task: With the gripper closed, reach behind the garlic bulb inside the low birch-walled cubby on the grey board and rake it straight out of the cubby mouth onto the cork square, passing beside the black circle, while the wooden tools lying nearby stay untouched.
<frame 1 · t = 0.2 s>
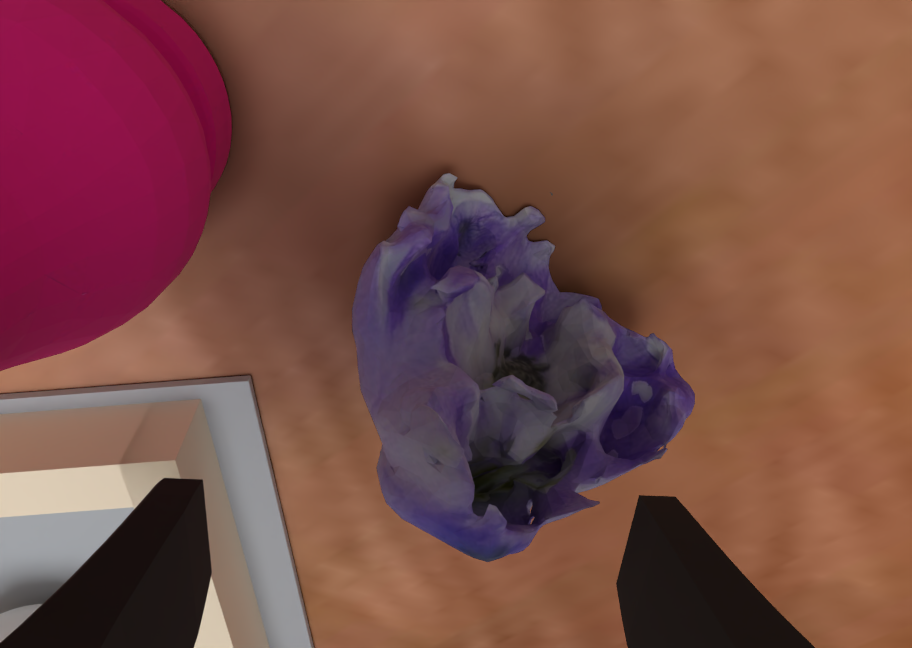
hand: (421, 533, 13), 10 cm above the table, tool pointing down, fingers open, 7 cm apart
cubby board: (76, 644, 28), on the table
flower: (481, 327, 23), on the table
garlic bulb: (66, 628, 28), resting on cubby board
pepper mill: (106, 106, 19), on the table, touching gripper
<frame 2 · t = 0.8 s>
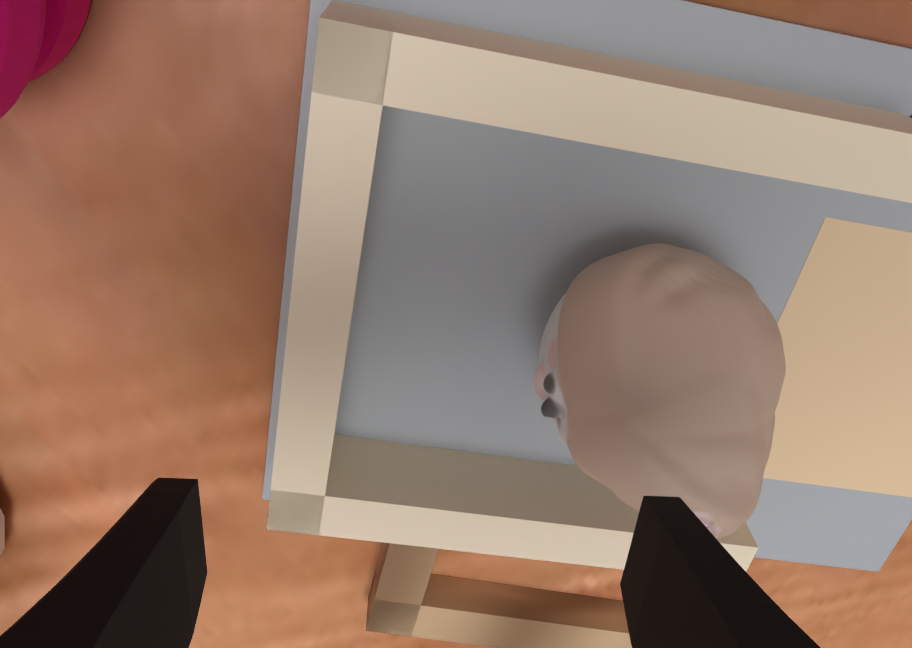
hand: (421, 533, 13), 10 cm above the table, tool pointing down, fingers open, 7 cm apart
crook tool: (532, 600, 29), on the table
cubby board: (662, 320, 23), on the table
garlic bulb: (631, 316, 23), resting on cubby board
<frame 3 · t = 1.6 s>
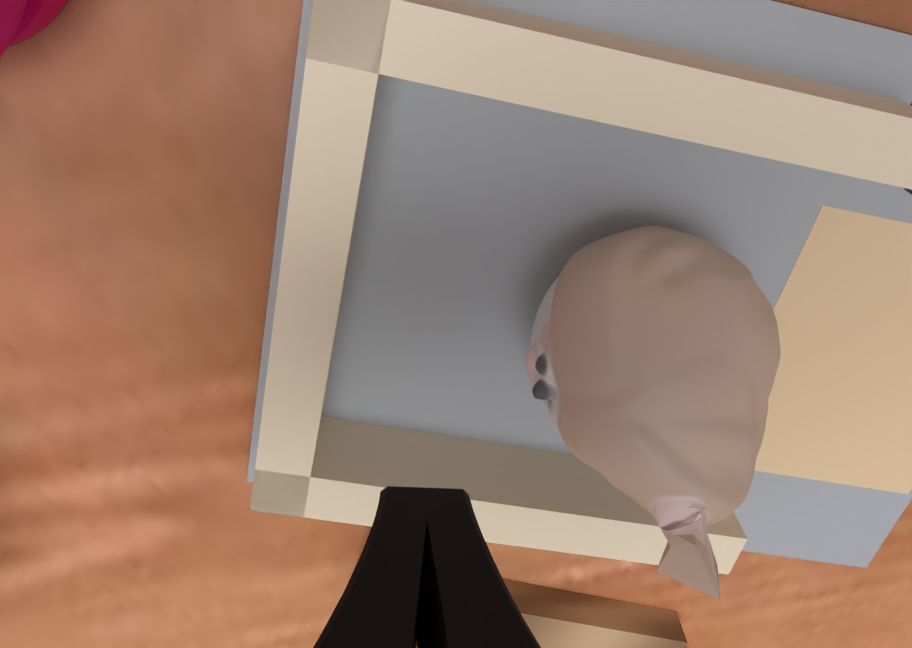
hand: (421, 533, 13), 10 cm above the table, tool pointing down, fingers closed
crook tool: (518, 593, 29), on the table, touching cubby board
cubby board: (656, 307, 23), on the table
garlic bulb: (624, 302, 23), resting on cubby board
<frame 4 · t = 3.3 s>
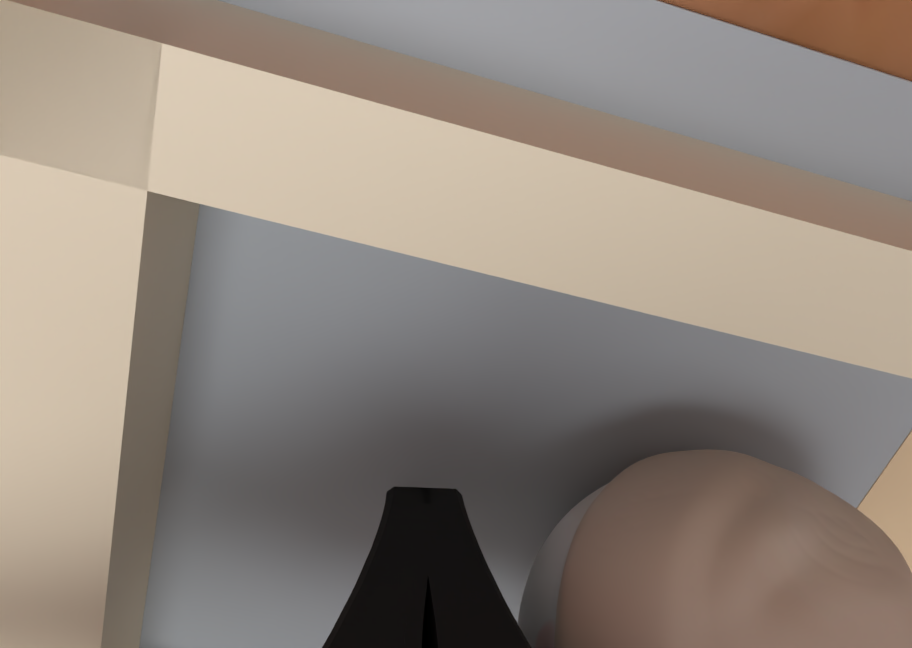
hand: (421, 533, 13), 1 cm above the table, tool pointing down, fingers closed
cubby board: (658, 522, 15), on the table
garlic bulb: (663, 523, 15), resting on cubby board, touching gripper
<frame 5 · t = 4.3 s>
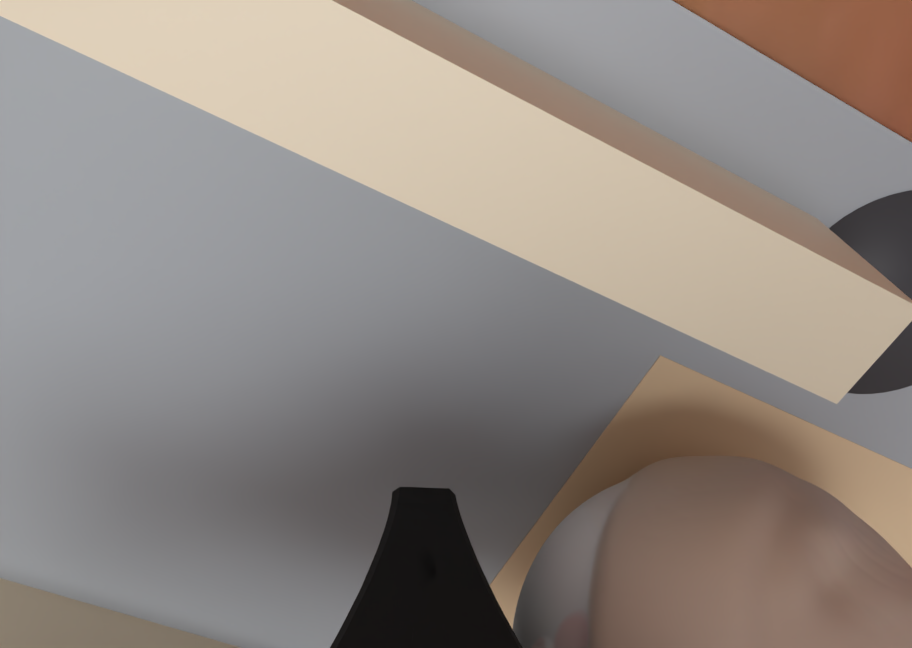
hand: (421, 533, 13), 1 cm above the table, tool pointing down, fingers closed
cubby board: (374, 451, 14), on the table
garlic bulb: (644, 535, 14), resting on cubby board, touching gripper
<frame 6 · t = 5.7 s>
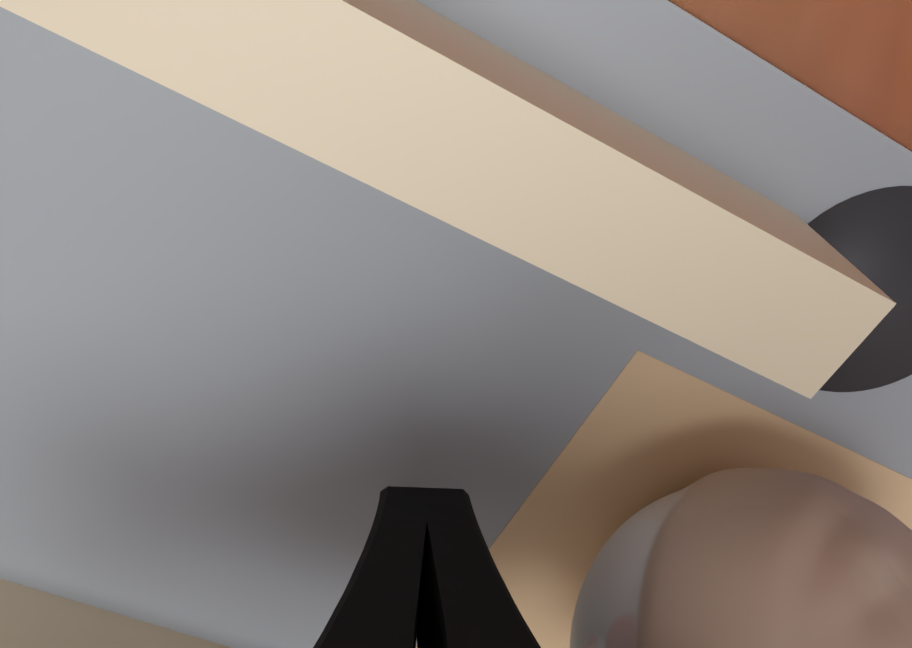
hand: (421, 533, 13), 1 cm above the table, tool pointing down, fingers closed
cubby board: (349, 444, 14), on the table
garlic bulb: (708, 540, 15), resting on cubby board
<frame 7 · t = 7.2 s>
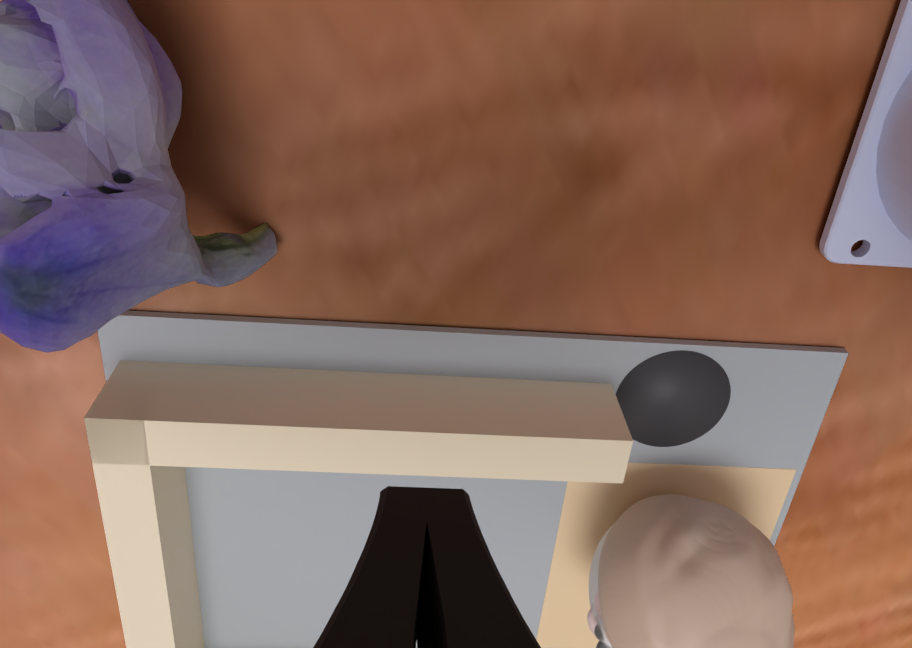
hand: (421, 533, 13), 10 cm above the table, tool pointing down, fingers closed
cubby board: (460, 541, 27), on the table
flower: (133, 126, 20), on the table
garlic bulb: (663, 528, 27), resting on cubby board
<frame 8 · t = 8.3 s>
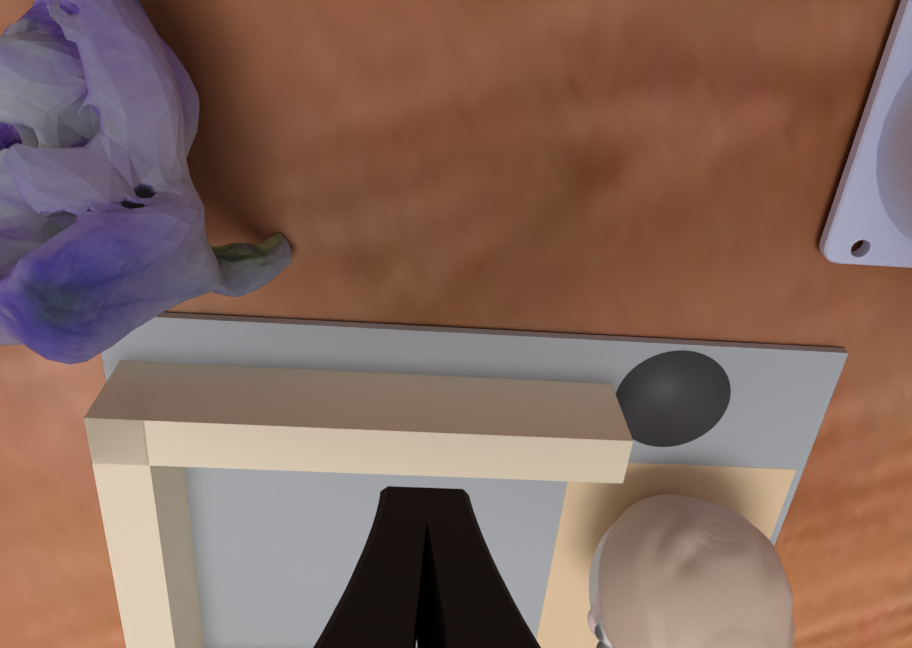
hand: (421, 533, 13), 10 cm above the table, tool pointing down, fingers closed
cubby board: (460, 541, 27), on the table
flower: (149, 137, 20), on the table
garlic bulb: (663, 528, 27), resting on cubby board
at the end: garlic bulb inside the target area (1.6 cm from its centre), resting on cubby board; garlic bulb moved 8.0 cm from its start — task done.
